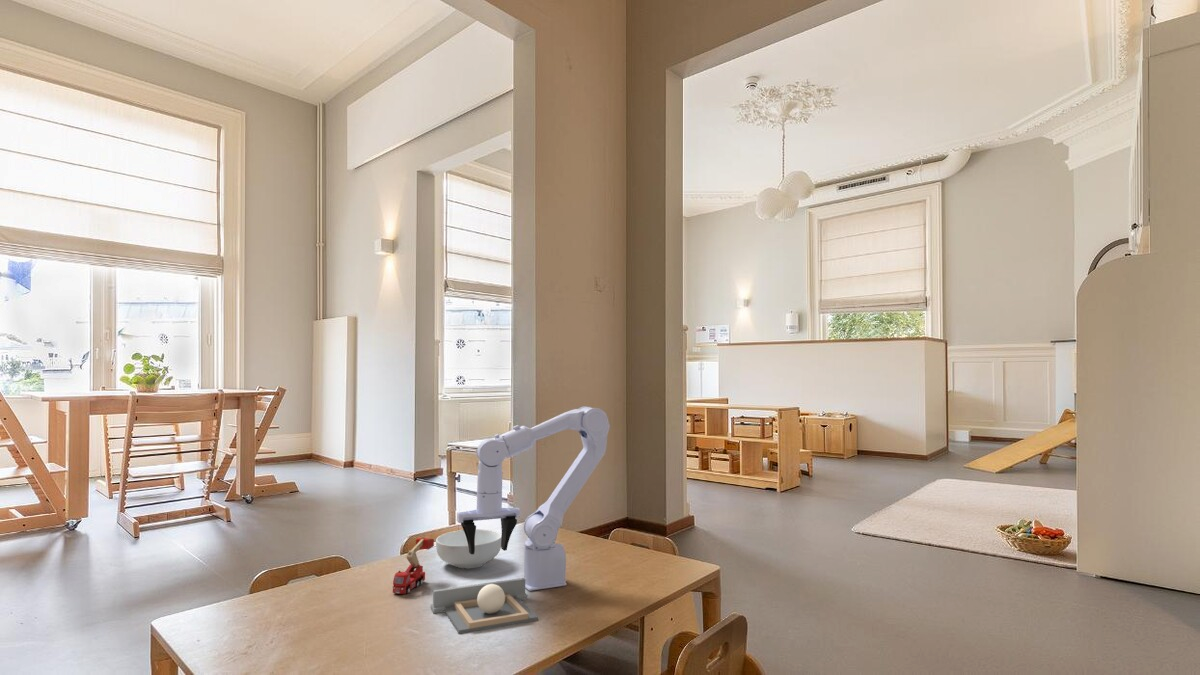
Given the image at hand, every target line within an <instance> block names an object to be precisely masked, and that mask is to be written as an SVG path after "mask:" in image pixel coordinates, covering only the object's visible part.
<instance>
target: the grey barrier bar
mask: <svg viewBox="0 0 1200 675" xmlns="http://www.w3.org/2000/svg"><path fill="white" fill-rule="evenodd" d="M525 580H526V579H525V578H524V577H520V578H512V579H511V578H510V579H505V580H499V581H490V582H482V583H475V584H468V585H462V586H456V587H455V586H454V587H448V588H440V589H433V590H432V603H431V604H430V610H431V611H432V613H433V614H438V613H445V612H444V609H446V608H453V607H454V602H460V601H467V600H474V599H477V597H478V594H479V592H480V590H481V589H482V588H483V587H484V586H486V585H488V584H496V585H498V586H500V587H501V588H502V590H503V591H504V594H505V595H507V594H510V595H511V596H512V597H513V598H519V599H520V600H521V601H522V600H528V598H529V597H528V594H527V593H526V588H525Z"/></svg>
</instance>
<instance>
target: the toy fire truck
mask: <svg viewBox="0 0 1200 675" xmlns="http://www.w3.org/2000/svg"><path fill="white" fill-rule="evenodd" d="M434 540H435V539H434V538H426V537H425V538H424V537H422V538H421V537H420V538H416V539H415V545H414V546H413V548H412V549H409V550H408V551H407V554H406V556H405V557H406V559H407V561H408V563H409V565H408V567H407V568H406V569H405V571H401V570H398V571H397V572H396V573H395V574H394V576H393V581H392V582H393V583H392V584H393V585H392V593H393V594H397V595H405V594H409V593H410V592H411V590H412V589H414V588H415V587H416V588H419V586H420V585H423V583H424V582H425V580H426V571H424V567H423V566H424V565H420V562H419V558H418V555H417V552H418V551H419V550H430V549H432V548H433V547H434V546H435V541H434Z"/></svg>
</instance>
